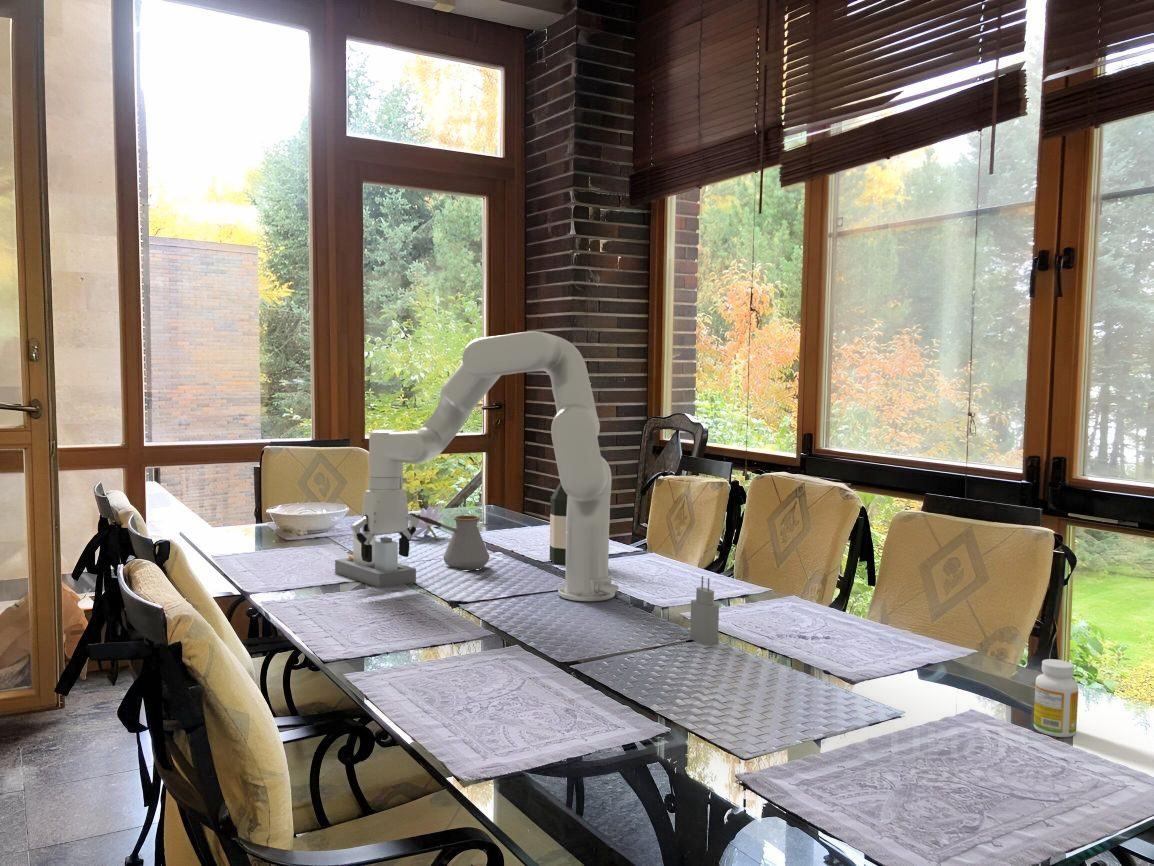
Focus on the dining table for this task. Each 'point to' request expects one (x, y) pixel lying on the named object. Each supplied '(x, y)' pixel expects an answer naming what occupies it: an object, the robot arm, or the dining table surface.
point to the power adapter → (704, 617)
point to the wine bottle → (558, 525)
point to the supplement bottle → (1056, 699)
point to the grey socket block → (375, 573)
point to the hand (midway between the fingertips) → (385, 558)
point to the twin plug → (357, 551)
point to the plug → (386, 554)
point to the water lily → (427, 526)
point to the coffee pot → (463, 543)
